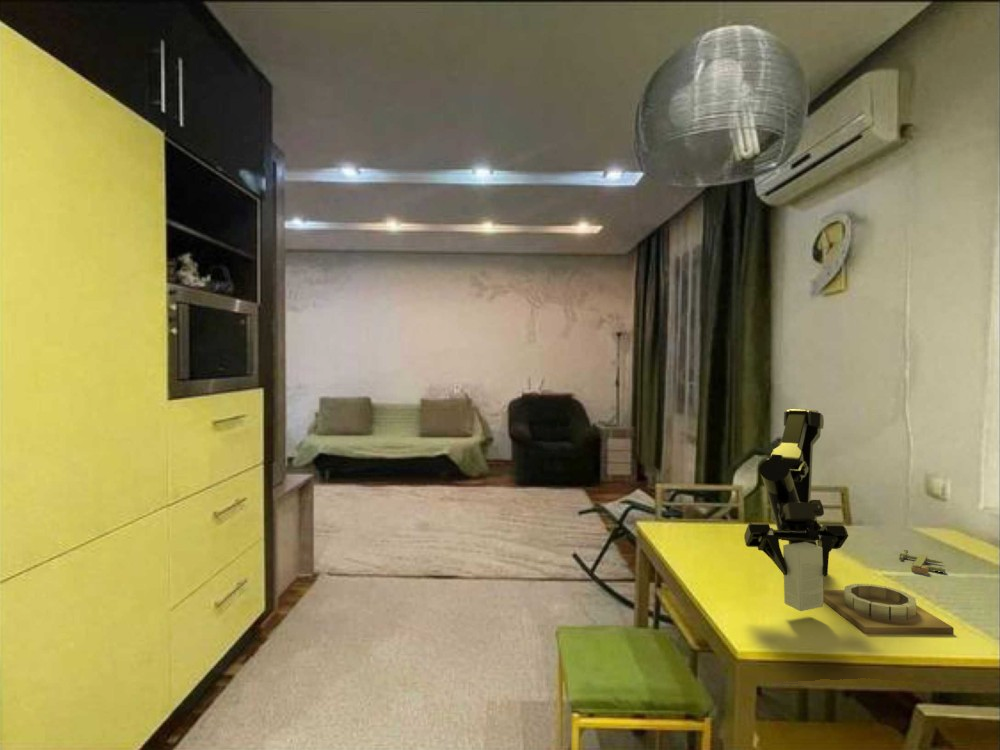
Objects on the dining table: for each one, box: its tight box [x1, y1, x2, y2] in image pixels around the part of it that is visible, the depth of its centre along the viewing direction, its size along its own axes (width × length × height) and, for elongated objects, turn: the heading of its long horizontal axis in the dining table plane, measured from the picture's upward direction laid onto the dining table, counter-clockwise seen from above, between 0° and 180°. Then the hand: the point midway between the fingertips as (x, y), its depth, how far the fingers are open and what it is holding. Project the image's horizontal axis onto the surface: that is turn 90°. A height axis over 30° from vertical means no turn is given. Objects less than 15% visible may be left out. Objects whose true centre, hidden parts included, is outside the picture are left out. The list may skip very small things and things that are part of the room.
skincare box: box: [782, 542, 824, 612], centre depth 114 cm, size 6×4×12 cm
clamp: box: [898, 549, 946, 575], centre depth 143 cm, size 15×2×10 cm
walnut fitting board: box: [823, 589, 955, 635], centre depth 116 cm, size 18×16×1 cm
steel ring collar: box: [843, 583, 917, 620], centre depth 116 cm, size 12×12×2 cm
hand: (805, 575), depth 113 cm, fingers closed on skincare box, 7 cm apart
